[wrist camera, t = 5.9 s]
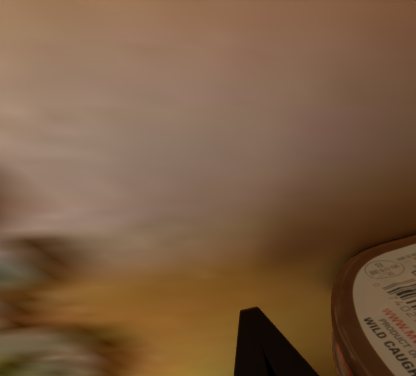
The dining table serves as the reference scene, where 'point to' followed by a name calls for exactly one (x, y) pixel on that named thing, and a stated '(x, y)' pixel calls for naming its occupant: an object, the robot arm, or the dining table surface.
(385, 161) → the dining table surface
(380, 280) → the tin
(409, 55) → the dining table surface
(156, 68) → the dining table surface
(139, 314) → the dining table surface
